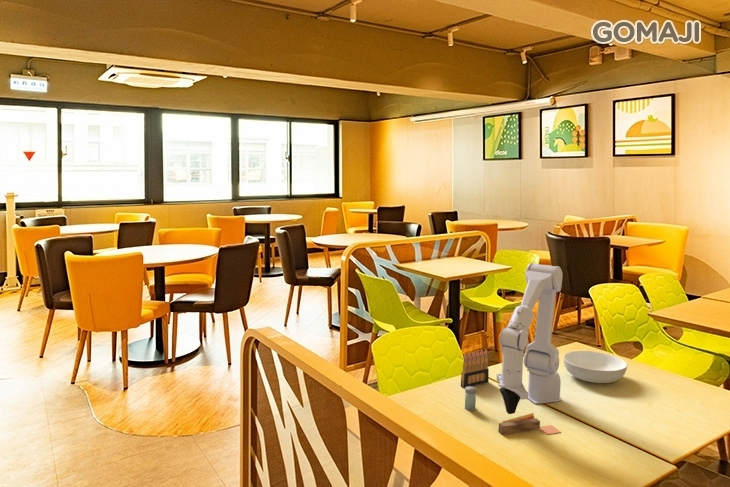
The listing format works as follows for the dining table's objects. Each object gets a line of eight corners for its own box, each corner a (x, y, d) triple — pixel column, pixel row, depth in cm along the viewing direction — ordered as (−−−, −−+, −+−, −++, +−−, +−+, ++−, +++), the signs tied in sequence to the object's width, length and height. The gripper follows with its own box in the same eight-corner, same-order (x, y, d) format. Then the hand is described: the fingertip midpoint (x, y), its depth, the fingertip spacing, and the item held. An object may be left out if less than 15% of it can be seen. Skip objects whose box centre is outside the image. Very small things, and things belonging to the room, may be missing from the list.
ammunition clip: (463, 388, 191) (464, 354, 190) (460, 386, 193) (461, 352, 191) (488, 382, 196) (489, 349, 195) (485, 380, 198) (486, 347, 196)
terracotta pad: (551, 425, 165) (551, 424, 165) (560, 432, 160) (561, 432, 160) (538, 427, 163) (538, 426, 163) (547, 434, 159) (547, 434, 159)
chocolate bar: (535, 421, 168) (536, 414, 168) (505, 430, 162) (505, 423, 162) (529, 418, 170) (529, 411, 170) (498, 427, 165) (499, 419, 164)
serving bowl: (637, 390, 190) (638, 370, 189) (574, 390, 190) (575, 370, 189) (611, 368, 211) (612, 350, 210) (554, 367, 211) (555, 349, 210)
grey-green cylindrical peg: (472, 405, 178) (473, 385, 177) (477, 410, 175) (478, 389, 174) (462, 406, 177) (463, 387, 176) (467, 411, 174) (468, 391, 173)
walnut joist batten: (535, 426, 164) (536, 418, 164) (539, 429, 162) (540, 421, 162) (498, 431, 161) (498, 423, 160) (501, 434, 159) (502, 426, 159)
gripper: (488, 361, 171) (486, 404, 173) (513, 379, 157) (511, 425, 159) (509, 359, 173) (507, 401, 175) (535, 376, 159) (533, 422, 161)
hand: (510, 412), depth 167 cm, fingers closed
